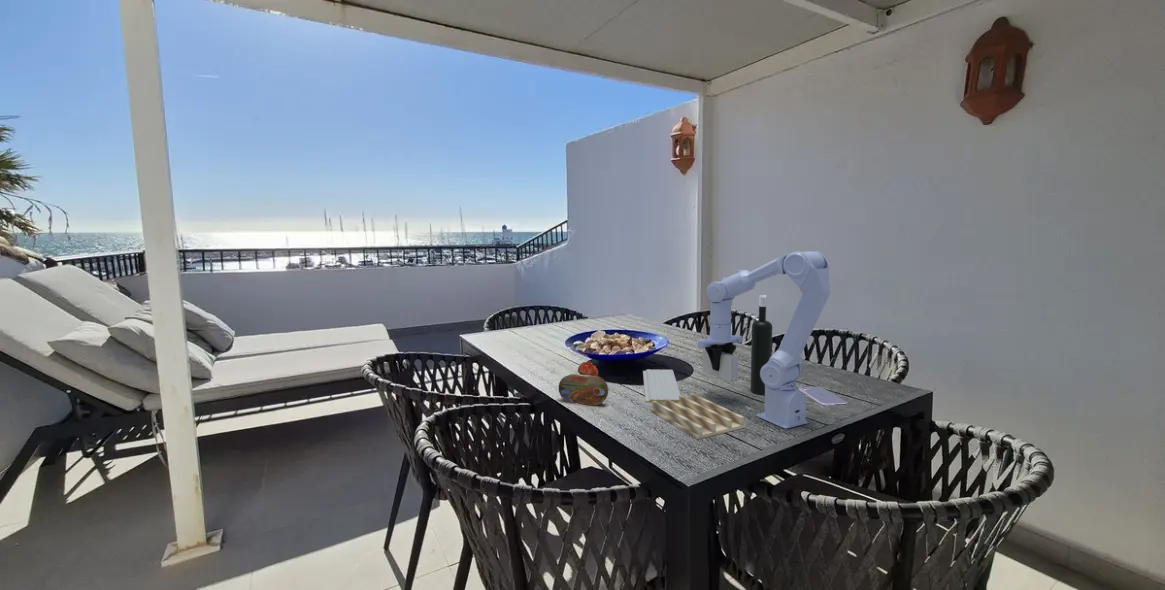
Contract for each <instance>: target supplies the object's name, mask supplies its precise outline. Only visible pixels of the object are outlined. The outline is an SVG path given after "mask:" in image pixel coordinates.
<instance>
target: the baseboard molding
mask: <svg viewBox="0 0 1165 590" xmlns="http://www.w3.org/2000/svg"><path fill="white" fill-rule="evenodd" d="M650 368H655V369H650ZM650 368H649V369H645V367H644V366H643V368H642V369H645V370H642V376H643V385H644V386H643V387H644V388H643V389H644V398H645V399H644V400H645V403H652V401H657V402H658V403H660V404H662V403H664V399H669V400H671V401H673V402H675V403H679V396H682V395H681V392H680V388H679V386H678V382H677V379H676V376H675V374H674V370H673V369H661V368H662V367H660V365H657V366H652V367H651V366H650ZM656 368H657V369H656Z"/></svg>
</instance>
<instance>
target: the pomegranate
mask: <svg viewBox="0 0 1165 590" xmlns="http://www.w3.org/2000/svg"><path fill="white" fill-rule="evenodd" d="M597 364H599V362H597V361H596V362H595V363H592V362H589V361H584V362H582V363H580V364H579V366H578V367H577V372H578V375H590V376H598V377H599V371H598V368H597Z"/></svg>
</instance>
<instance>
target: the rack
mask: <svg viewBox="0 0 1165 590" xmlns="http://www.w3.org/2000/svg"><path fill="white" fill-rule="evenodd" d="M689 396H690V397H689V398H688V397H686V396H684V395H681V396H679V403H675V402H673V401H671V400H669V399H664V404H662V403H658V402H657V401H652V402H651V404H652V405H651V406H652V407H651V408H650V412H651V413H653V414H654V415H656V416H658V417H660V419H662V420H664V421H666V422H668V423H669V424H671V425H672V426H675V427H676V428H678V429H679V430H681V431H683V432H684V433H686V434H687V435H690V436H691V437H693V438H694V439H696V440H700V439H701V440H702V439H705V438H710V437H712V436H716V435H721V434H724V433H729V432H732V431H733V432H734V431H737V430H742V429H745V428H746V427H747V425H746V423H745V416H743V415H741V414H739V413H736V412H734V411H732V410H730V409H728V408H726V407H724V406H722V405H720V404H717V403H715V402H713V401H711V400H708V399H707V398H704V397H702V396H700V395H698V394H695V393H690V395H689Z"/></svg>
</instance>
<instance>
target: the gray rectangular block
mask: <svg viewBox="0 0 1165 590" xmlns="http://www.w3.org/2000/svg"><path fill="white" fill-rule="evenodd" d="M702 373H706V374H708V375H711V376H713V377H716V378H719V379H720V380H723V381H726V382H729V383H735V382H738V377H739V356H738V355H734V354H732V355H731V354H728V353H725V352H722V353H721V357H720V368H719V371H716V370H713V369H712V365H711V361H710V358H709V355H708V353H707V351H706V350H705V348H702Z"/></svg>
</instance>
